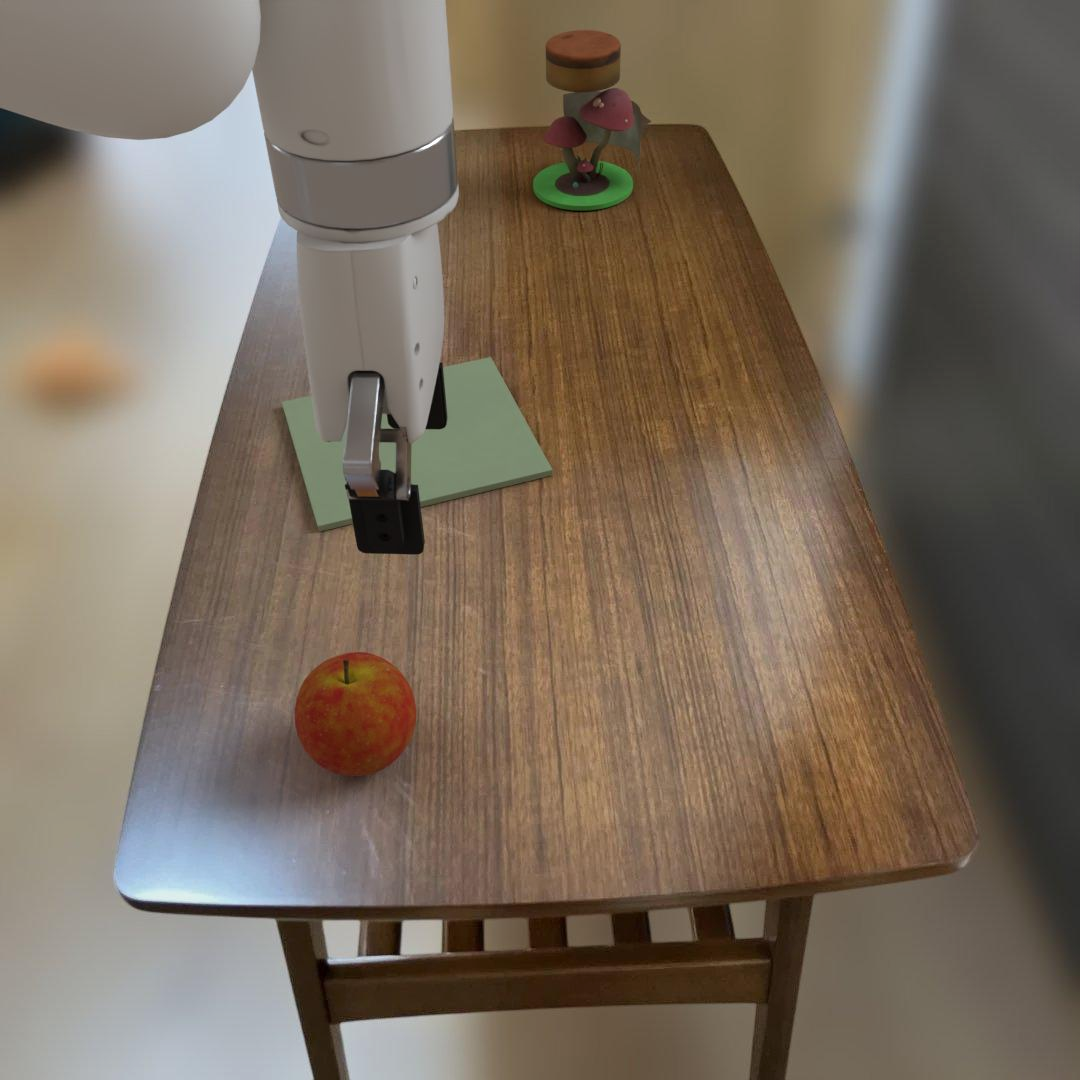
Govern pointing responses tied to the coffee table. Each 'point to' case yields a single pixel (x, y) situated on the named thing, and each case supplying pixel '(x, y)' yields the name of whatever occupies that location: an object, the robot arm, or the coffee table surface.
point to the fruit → (355, 714)
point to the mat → (431, 446)
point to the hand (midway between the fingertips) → (405, 484)
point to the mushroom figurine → (588, 122)
